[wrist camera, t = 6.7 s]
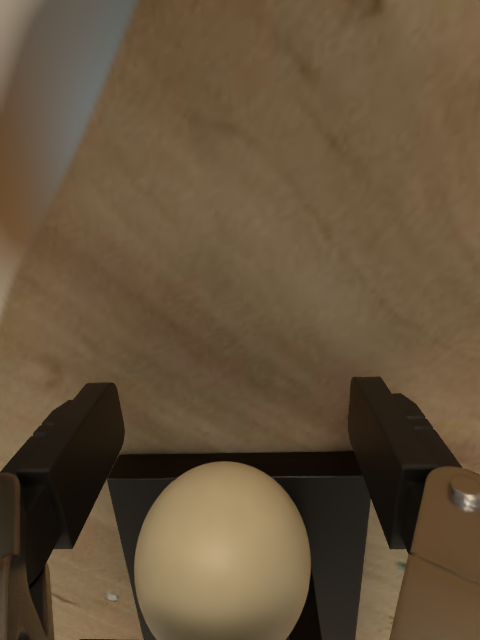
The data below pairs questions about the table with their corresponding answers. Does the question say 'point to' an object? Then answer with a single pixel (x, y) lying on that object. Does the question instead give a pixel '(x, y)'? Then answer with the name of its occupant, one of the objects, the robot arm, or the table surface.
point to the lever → (222, 557)
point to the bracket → (312, 503)
